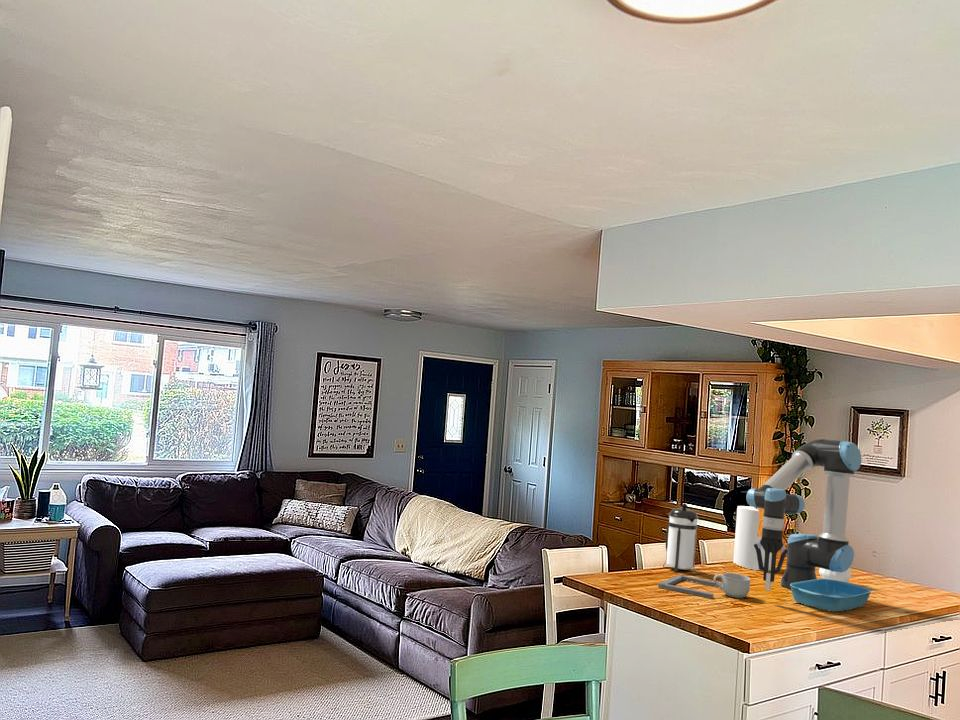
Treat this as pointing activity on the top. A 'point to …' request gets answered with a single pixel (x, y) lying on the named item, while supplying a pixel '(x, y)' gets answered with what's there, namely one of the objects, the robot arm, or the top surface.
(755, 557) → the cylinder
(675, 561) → the coffee press
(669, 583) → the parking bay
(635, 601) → the top surface
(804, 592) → the casserole dish
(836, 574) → the cup
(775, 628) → the top surface
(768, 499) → the robot arm
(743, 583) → the teacup
